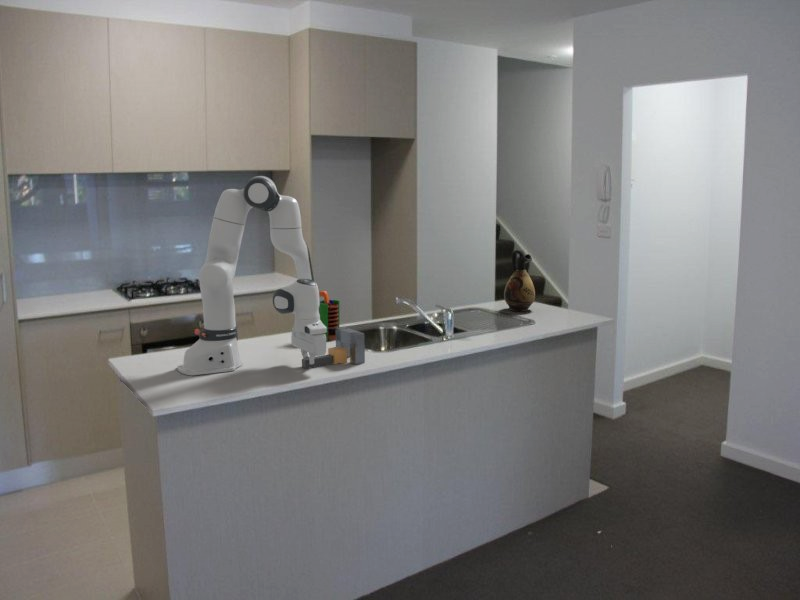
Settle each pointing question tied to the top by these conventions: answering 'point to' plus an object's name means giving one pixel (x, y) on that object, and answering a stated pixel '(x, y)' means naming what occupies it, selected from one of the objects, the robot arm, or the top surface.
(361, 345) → the grey u-shaped block
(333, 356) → the plug
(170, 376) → the top surface
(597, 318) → the top surface
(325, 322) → the motor
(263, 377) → the top surface
